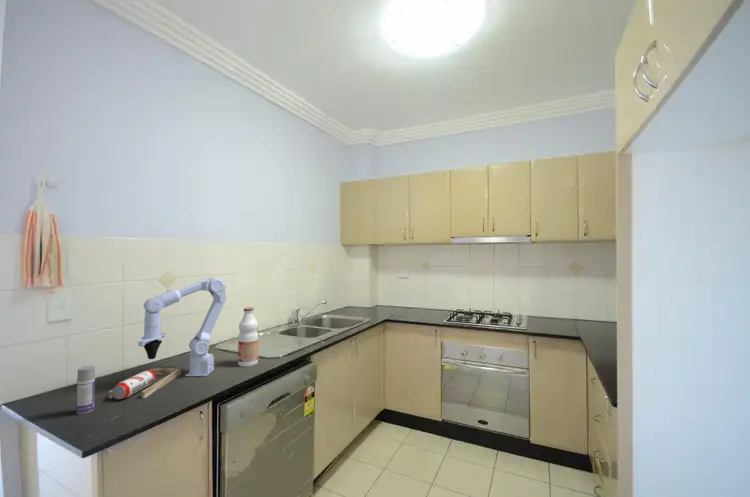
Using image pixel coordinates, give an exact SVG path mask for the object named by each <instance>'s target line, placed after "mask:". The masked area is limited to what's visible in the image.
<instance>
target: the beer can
mask: <svg viewBox="0 0 750 497" xmlns="http://www.w3.org/2000/svg"><path fill="white" fill-rule="evenodd" d="M156 376H157V375H155V373H154V372H153V371H151V370H150V369H146V370H144V371H141V372H139V373H137V374H136V375H133V376H131V377H129V378H126V379H125V380H122V381H120V382H119V383H118V384H116V386H114V387H113V388H112V389H111V390H112V395H113V398H114V399H116V400H123V399H127V398H128V397H130V396H132V395H135V394H136V393H137V392H139V391H141V390H142V391H143V390H144V389H146V387H147V388H148V387H150V386H151V385H153V384H154V382H155V381H156V378H157V377H156Z"/></svg>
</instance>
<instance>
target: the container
mask: <svg viewBox="0 0 750 497" xmlns="http://www.w3.org/2000/svg"><path fill="white" fill-rule="evenodd" d="M76 376H77V377H76V378H77V380H76V403H75V404H76V405H75V407H76V408H75V409H76V411H75V412H76V415H85V414H88V413H91V412H93V411H94V410H95V390H96V388H95V384H96V378H95V377H96V370H95V365H86V366H85V365H84V366H82V367H79V368H77V375H76Z"/></svg>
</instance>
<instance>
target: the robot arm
mask: <svg viewBox="0 0 750 497" xmlns="http://www.w3.org/2000/svg"><path fill="white" fill-rule="evenodd" d="M198 291H208V292H209V293H210V295H211V297H212V299H213V300H212V303H211V304H210V307H209V308H208V311H207V312H206V315H205V316H204V317H205V318H204V320H203V322H202V324H201V326H200V328H199V331H198V332H196V334H195V335H194V337H193V338H192V339H191V340H190V341H189V344H188V345H189V349H190V350H191V351H190V353H189V372H188V373H186V374H185V377H207V376H209V375H210V374H211V373H213V371H215V369H214V364H215V361H214V360H215V357H214V354H213V353H208V351H209V348H210V342H211V334H212V332H213V330H214V328H215V325H216V322H217V321H218V318H219V316H220V314H221V312H222V309H223V307H224V305H225V303H226V301H227V292H226V284H225V283H224V281H223V280H222V279H220V278H215V277H208V278H207V279H203V280H200V281H197V282H194V283H193V284H191V285H188V286H186V287H184V288H181V289H179V290H177V289H168V290H167V291H166V292H164V293H162V294H159V295H158V294H156V295H155V296H154V297H149V298H147V299H146V300H145V301H144V302H143V303H144V304H143V309H145V312H144V320H143V322H144V324H143V327H144V328H143V333H144V334H143V336H141V339H140V340H138V341H137V346H138V347H143V348H144V350H145V353H146V356H147V359H148V360H154V359H156V357H157V353H158V350H159V348H160V346H161V344H162V343H163V341H162V338H163V339H164V338H166V337H165V336H166V333H165V332H161V322H162V320H161V319H162V318H161V317H162V316H161V310H162V309H163V308H167V307H169V306H172V305H173V304H176V303H178V302H180V300H181V299H182V298H183V297H185V296H189V295H191V294H194V293H197V292H198Z"/></svg>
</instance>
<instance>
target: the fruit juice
mask: <svg viewBox="0 0 750 497" xmlns="http://www.w3.org/2000/svg"><path fill="white" fill-rule="evenodd" d="M254 312H255V308H254V307H250V306H249V307H244V308H243V313H244V314H243V317H242V319H241V321H240V322H239V324H238V329H239V333H238V337H237V338H238V339H237V341H238V342H237V343H238V344H237V365H238V366H239V367H244V368H247V367H253V366H255V365H257V364H258V363H259V361H258V360H259V332H258V330H259V322H258V321H257V319H256V318H255V314H254Z"/></svg>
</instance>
